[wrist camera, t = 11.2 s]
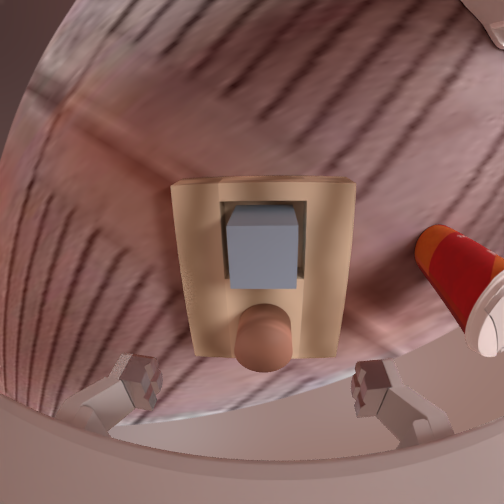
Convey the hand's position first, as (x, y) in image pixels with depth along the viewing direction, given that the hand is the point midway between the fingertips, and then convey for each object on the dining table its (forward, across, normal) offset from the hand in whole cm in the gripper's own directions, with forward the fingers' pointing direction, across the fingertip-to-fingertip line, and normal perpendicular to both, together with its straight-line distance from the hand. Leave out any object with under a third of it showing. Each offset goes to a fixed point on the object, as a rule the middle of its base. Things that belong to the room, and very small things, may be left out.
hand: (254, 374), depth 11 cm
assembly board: (+18, 0, +4) cm, 19 cm away
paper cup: (+19, -18, +2) cm, 26 cm away
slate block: (+17, 0, 0) cm, 17 cm away
